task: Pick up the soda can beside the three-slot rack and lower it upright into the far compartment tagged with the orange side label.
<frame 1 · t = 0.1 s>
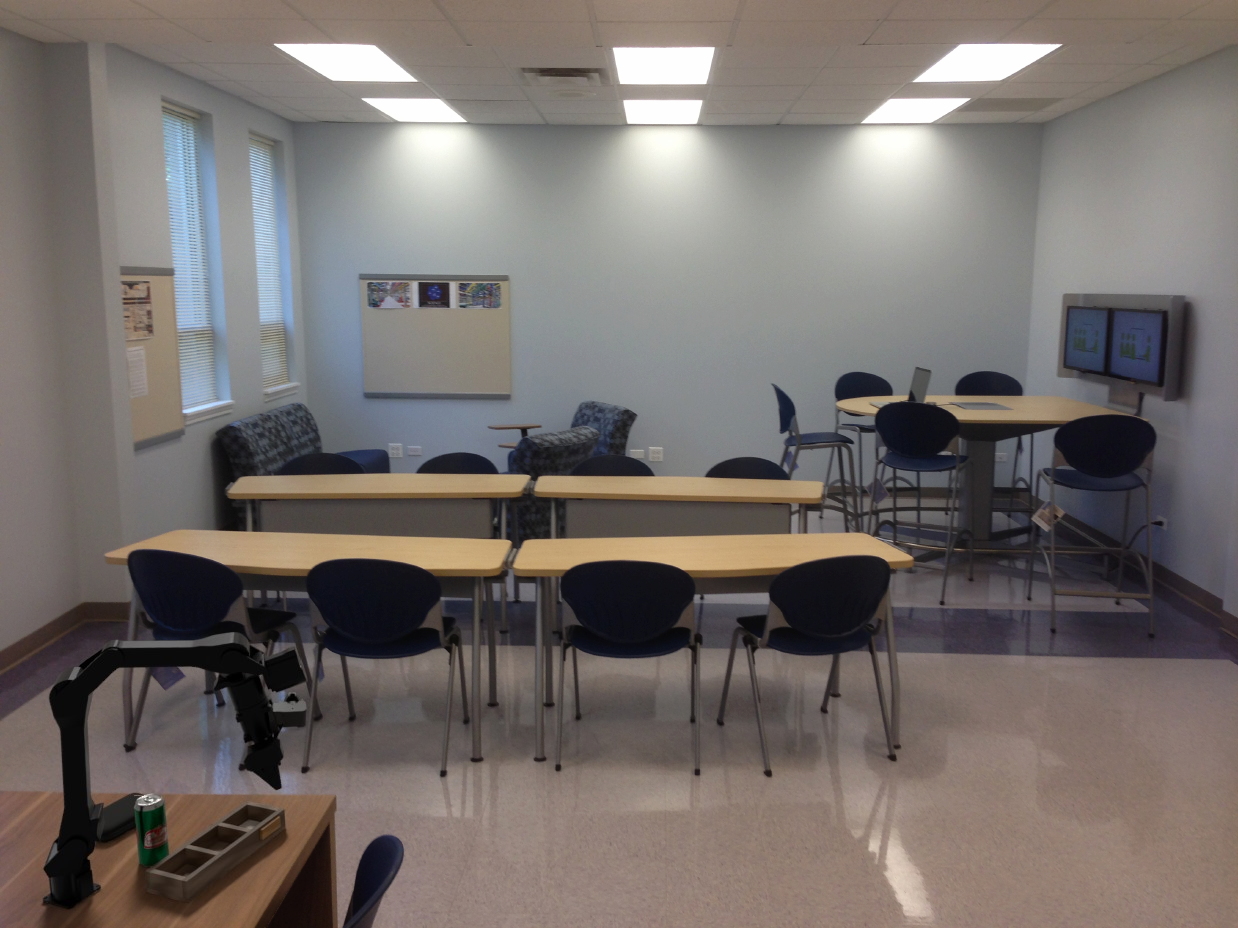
hand: (278, 776, 175), 15 cm above the table, tool pointing down, fingers open, 9 cm apart
carrying case or bag: (119, 824, 189), on the table
can rack: (220, 858, 177), on the table
soda can: (154, 860, 176), on the table
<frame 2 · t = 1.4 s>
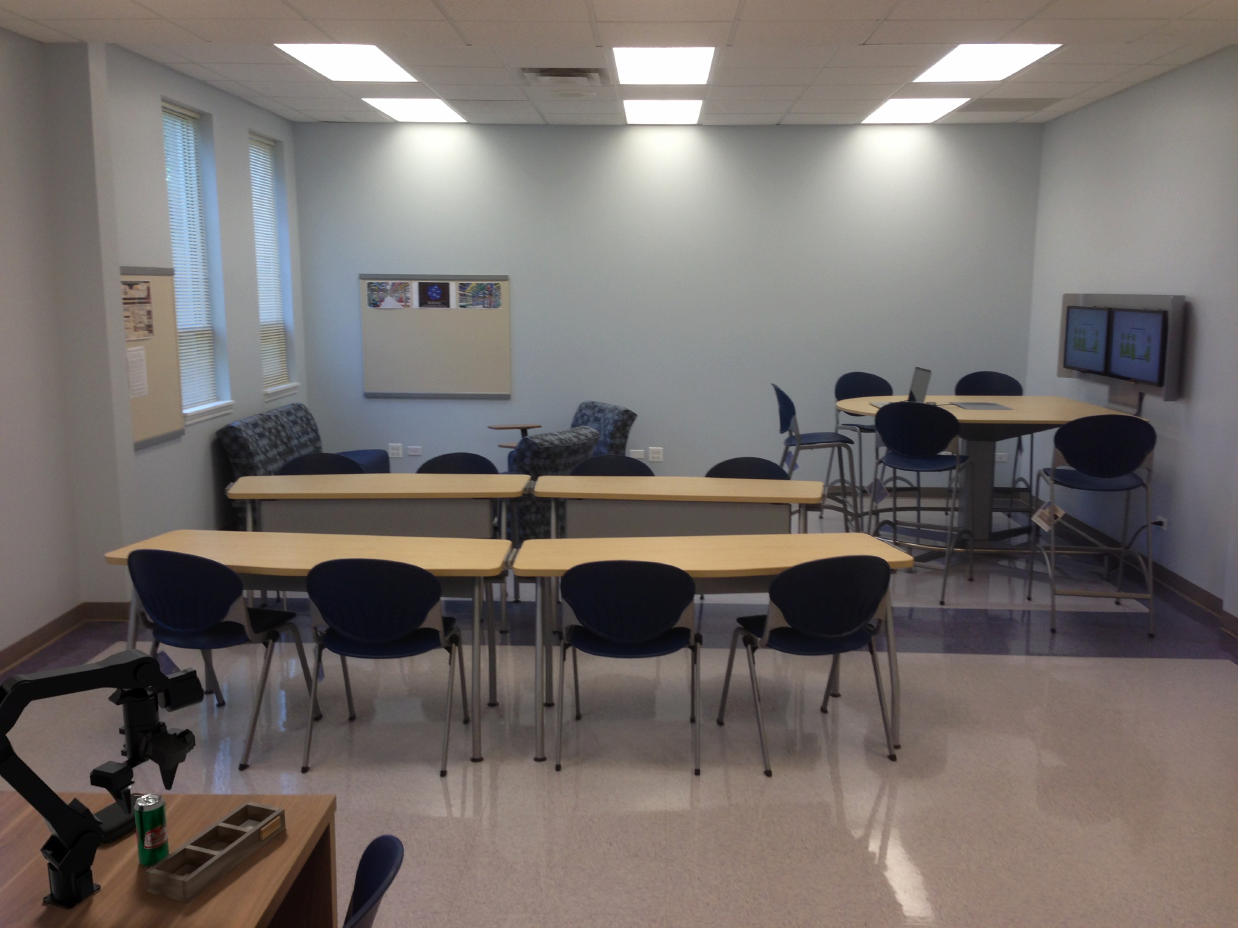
hand: (148, 801, 174), 12 cm above the table, tool pointing down, fingers open, 9 cm apart
nothing on the table moved.
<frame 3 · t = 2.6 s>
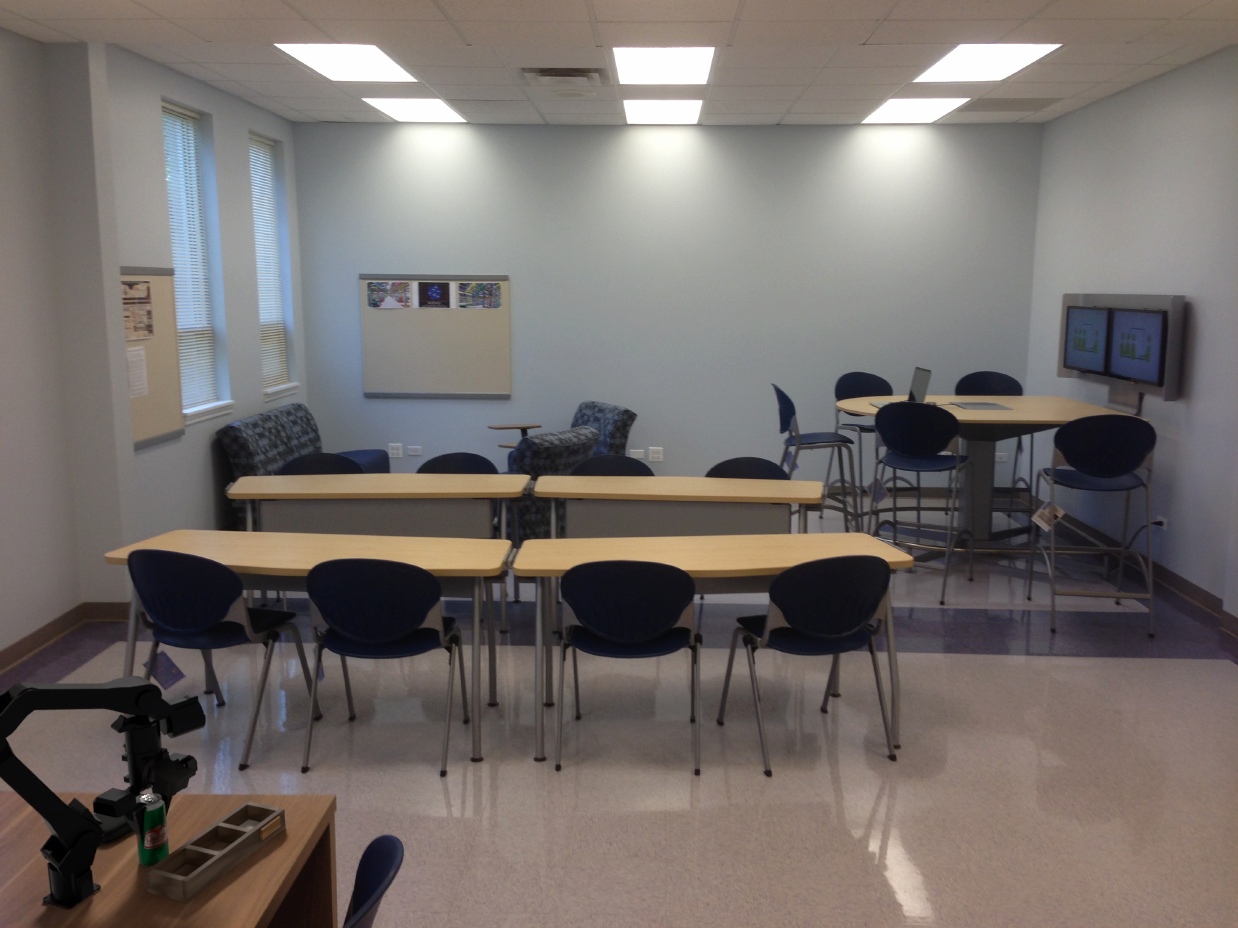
hand: (151, 826, 175), 7 cm above the table, tool pointing down, fingers closed on soda can, 5 cm apart
soda can: (154, 860, 176), on the table, touching gripper
everything else where it was.
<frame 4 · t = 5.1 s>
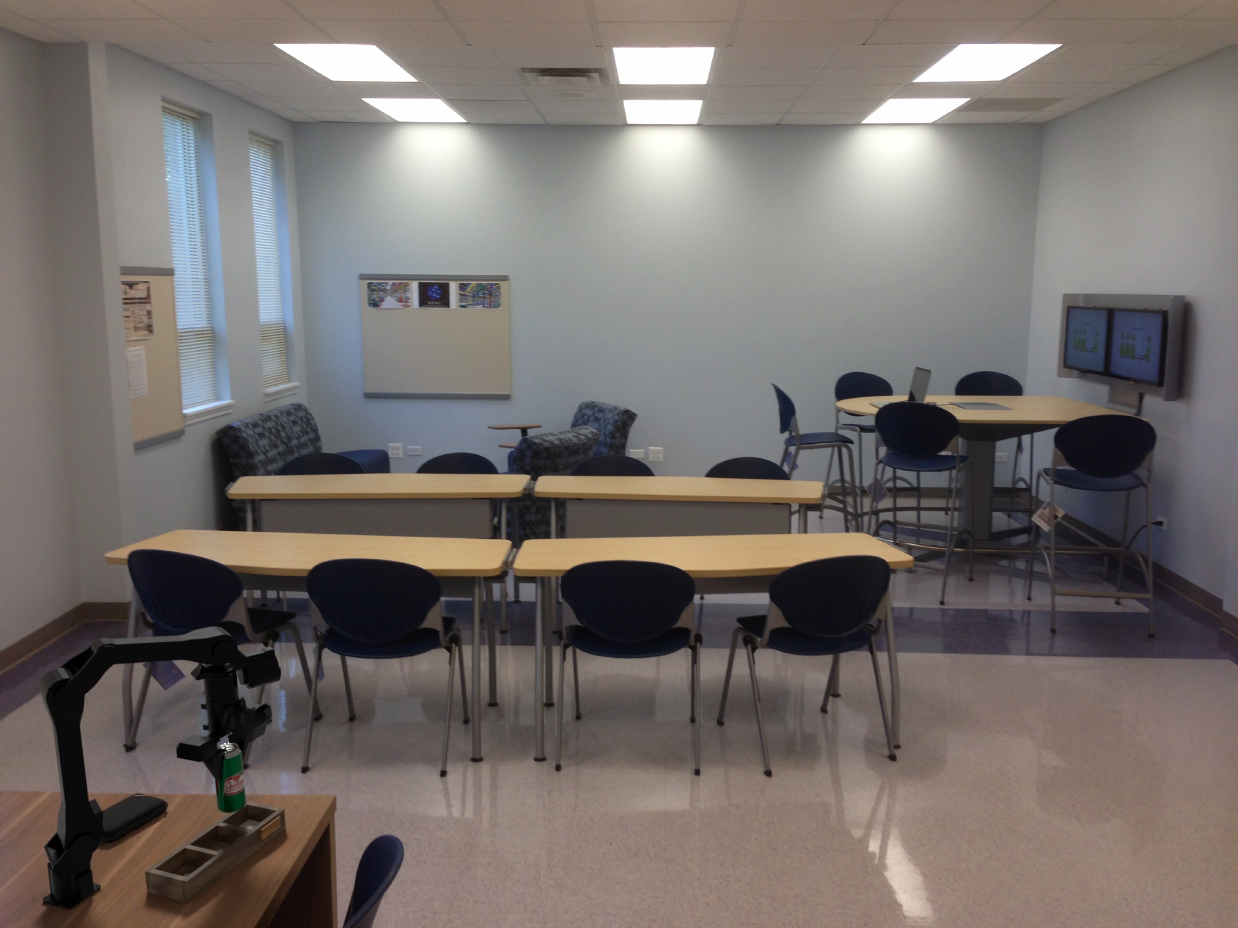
hand: (229, 773, 180), 13 cm above the table, tool pointing down, fingers closed on soda can, 5 cm apart
soda can: (232, 808, 182), point 6 cm above the table, touching gripper
everything else where it was.
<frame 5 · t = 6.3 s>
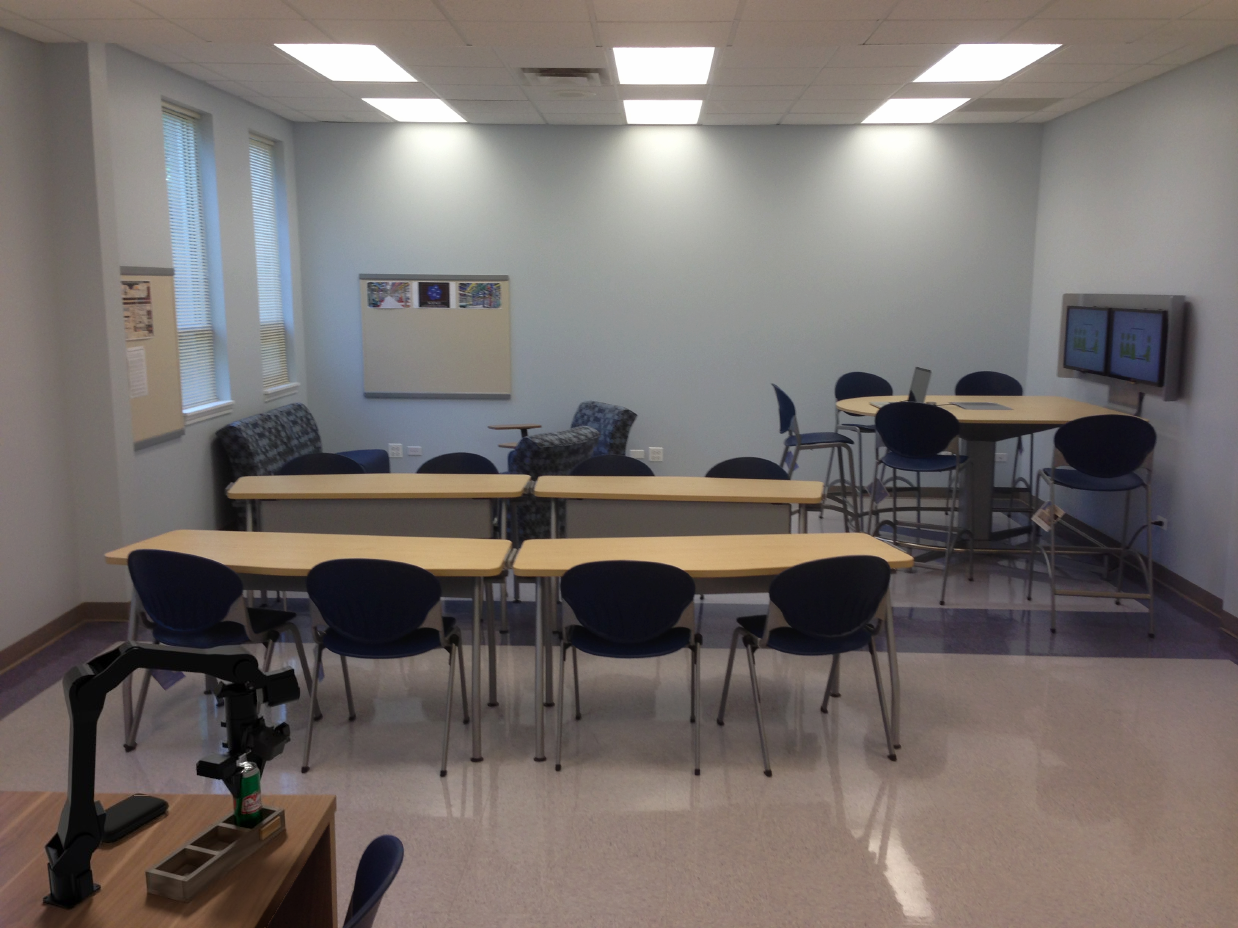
hand: (246, 791, 182), 9 cm above the table, tool pointing down, fingers closed on soda can, 5 cm apart
soda can: (249, 826, 183), point 2 cm above the table, touching gripper
everything else where it was.
when the fingers open (9 cm above the table, at t = 7.3 s): soda can stays where it is, resting on can rack.
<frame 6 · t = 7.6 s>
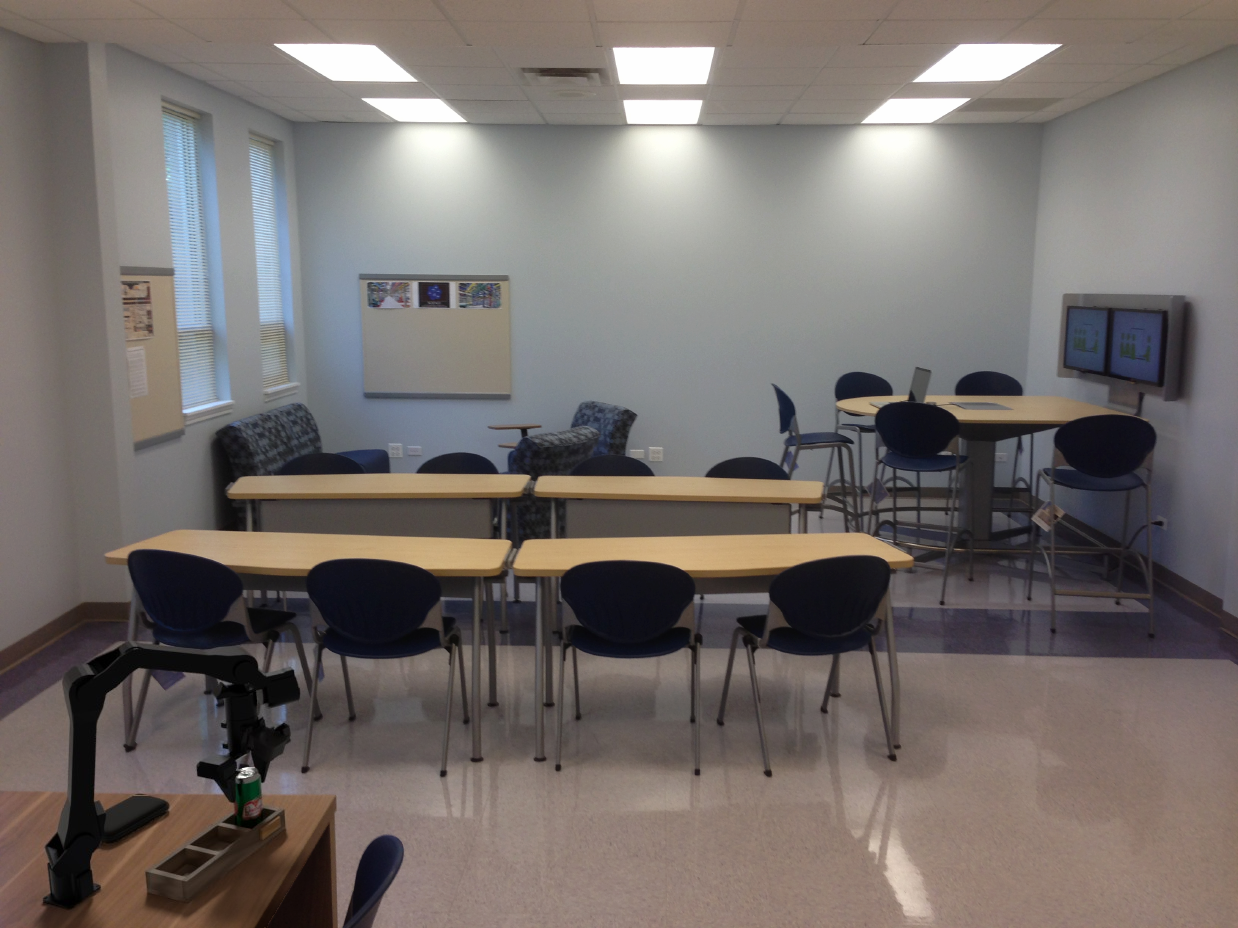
hand: (247, 791, 182), 9 cm above the table, tool pointing down, fingers open, 8 cm apart
soda can: (249, 831, 184), point 1 cm above the table, touching can rack
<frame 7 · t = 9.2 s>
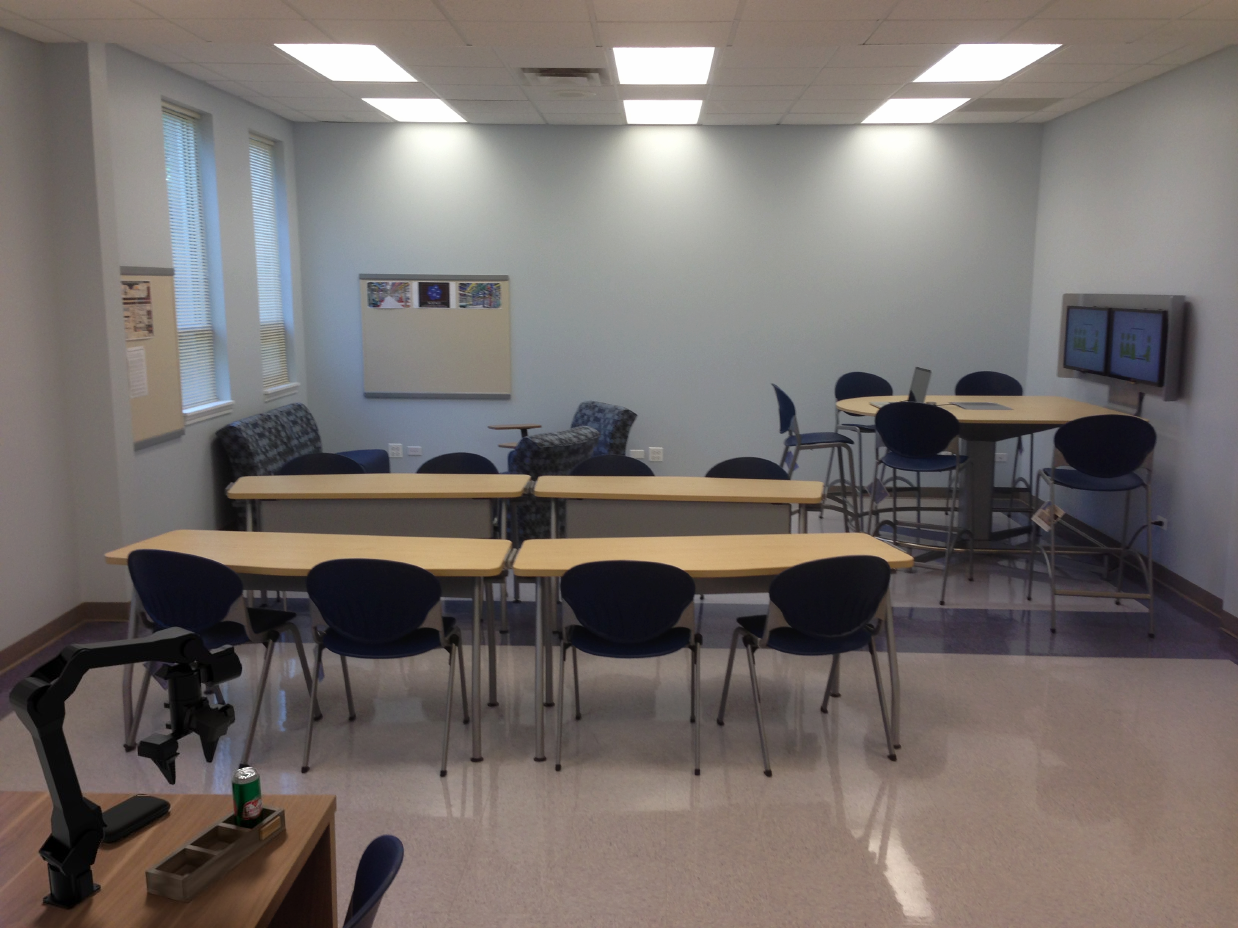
hand: (191, 772, 182), 13 cm above the table, tool pointing down, fingers open, 9 cm apart
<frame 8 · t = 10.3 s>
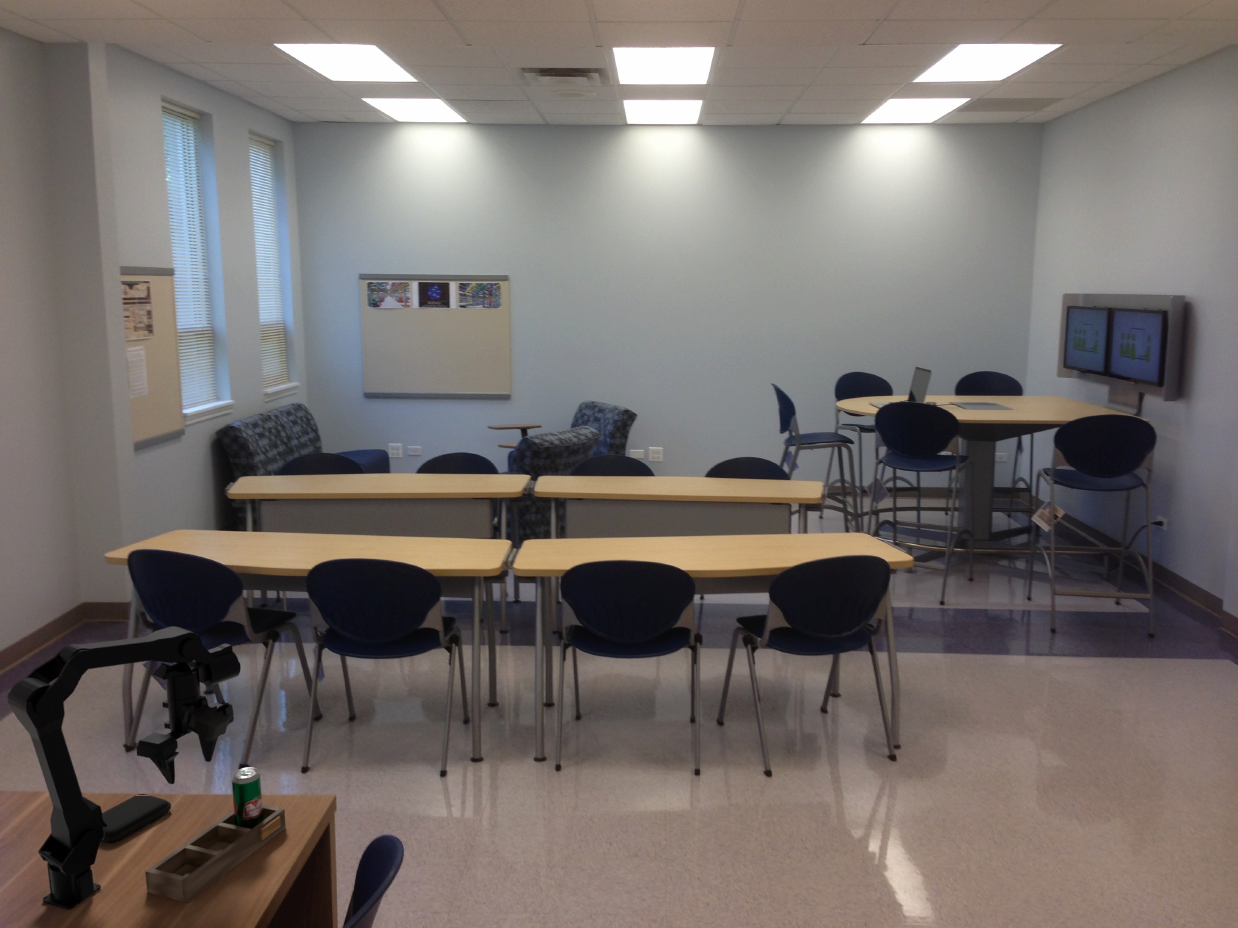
hand: (190, 772, 182), 13 cm above the table, tool pointing down, fingers open, 9 cm apart
at the end: soda can 0.1 cm from the target spot on the can rack, point 0.8 cm above the can rack's base; soda can tilted 0°; the gripper is holding nothing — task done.
